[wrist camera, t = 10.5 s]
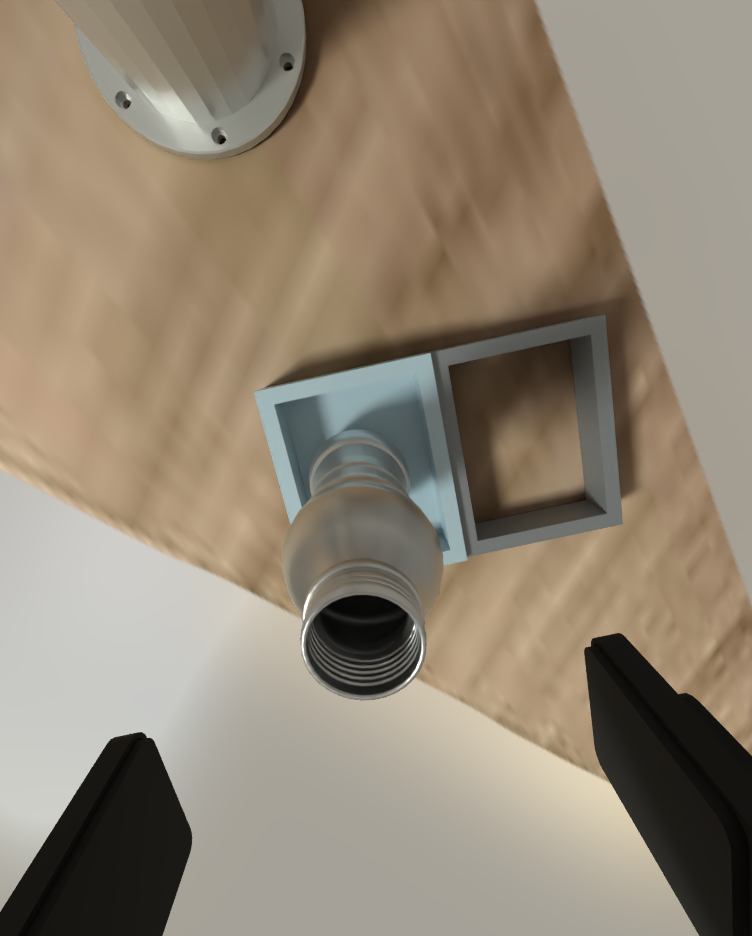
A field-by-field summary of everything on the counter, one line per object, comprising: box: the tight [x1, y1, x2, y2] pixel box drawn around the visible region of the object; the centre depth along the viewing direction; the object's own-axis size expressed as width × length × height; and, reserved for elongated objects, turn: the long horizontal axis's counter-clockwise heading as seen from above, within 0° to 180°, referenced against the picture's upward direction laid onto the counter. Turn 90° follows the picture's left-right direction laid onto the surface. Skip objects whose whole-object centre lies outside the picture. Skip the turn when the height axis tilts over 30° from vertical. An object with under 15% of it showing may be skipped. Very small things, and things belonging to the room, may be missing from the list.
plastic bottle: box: [281, 429, 444, 700], centre depth 23 cm, size 6×7×20 cm
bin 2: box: [425, 314, 623, 557], centre depth 31 cm, size 14×11×3 cm
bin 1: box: [254, 353, 467, 565], centre depth 31 cm, size 14×11×4 cm
